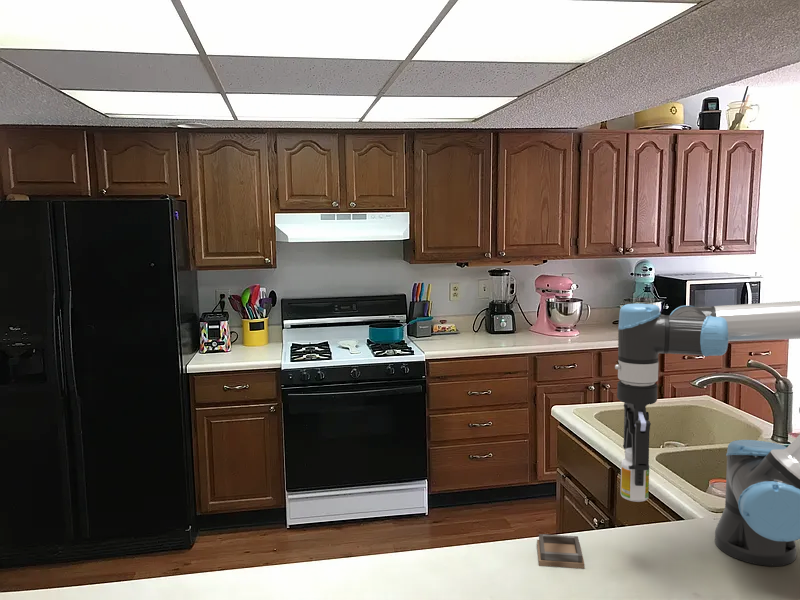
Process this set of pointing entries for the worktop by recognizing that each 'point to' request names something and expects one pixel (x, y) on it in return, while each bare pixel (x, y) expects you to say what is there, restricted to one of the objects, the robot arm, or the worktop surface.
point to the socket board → (560, 551)
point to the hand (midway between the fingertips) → (634, 492)
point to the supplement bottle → (627, 477)
